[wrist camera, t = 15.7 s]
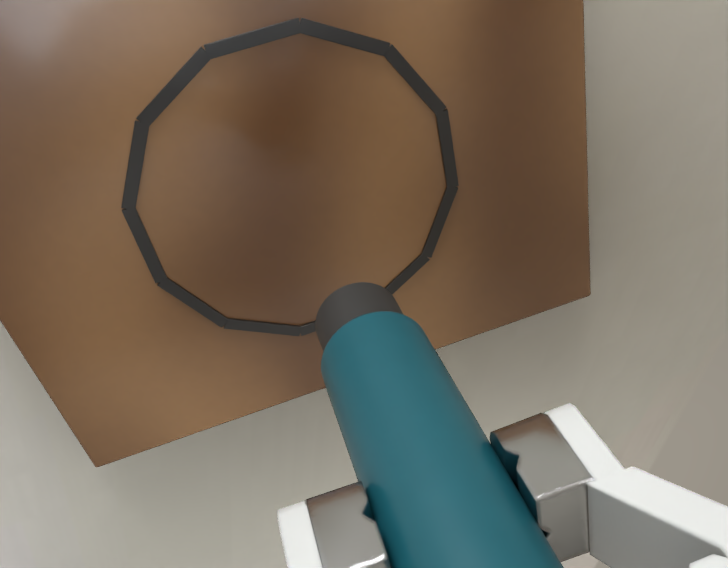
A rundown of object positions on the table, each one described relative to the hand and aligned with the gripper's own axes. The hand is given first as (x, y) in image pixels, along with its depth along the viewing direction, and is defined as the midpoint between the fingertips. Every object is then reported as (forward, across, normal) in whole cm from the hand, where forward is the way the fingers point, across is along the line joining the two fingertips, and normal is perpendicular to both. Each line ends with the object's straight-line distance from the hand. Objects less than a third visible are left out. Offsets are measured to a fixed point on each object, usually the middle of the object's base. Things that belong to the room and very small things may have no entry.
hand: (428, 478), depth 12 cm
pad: (+13, 0, 0) cm, 13 cm away
